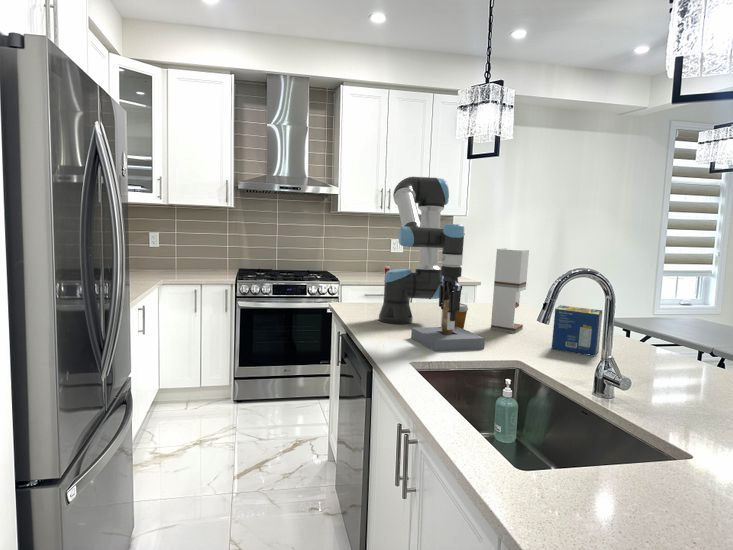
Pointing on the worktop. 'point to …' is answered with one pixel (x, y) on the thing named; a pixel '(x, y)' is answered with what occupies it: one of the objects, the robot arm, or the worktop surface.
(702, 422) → the worktop surface
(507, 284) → the white banded pillar
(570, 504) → the worktop surface
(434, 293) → the robot arm
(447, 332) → the oak peg
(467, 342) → the socket block
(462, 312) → the disposable coffee cup
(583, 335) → the protein box
